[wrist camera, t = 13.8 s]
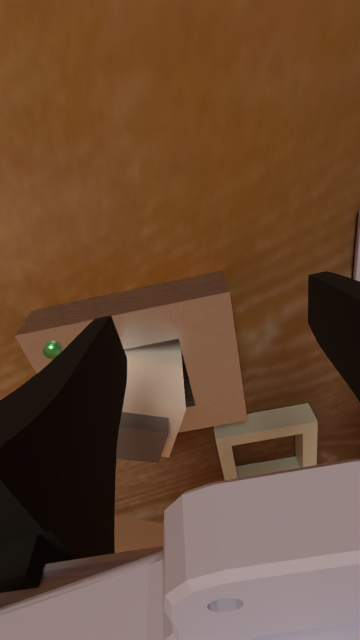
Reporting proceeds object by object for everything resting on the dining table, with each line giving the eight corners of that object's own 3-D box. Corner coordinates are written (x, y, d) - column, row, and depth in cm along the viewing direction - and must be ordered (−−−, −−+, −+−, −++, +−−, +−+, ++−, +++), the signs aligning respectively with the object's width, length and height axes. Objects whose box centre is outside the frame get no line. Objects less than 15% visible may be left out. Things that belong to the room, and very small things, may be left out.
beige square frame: (308, 403, 28) (317, 421, 26) (307, 461, 32) (315, 480, 31) (212, 420, 28) (215, 439, 27) (224, 475, 33) (227, 494, 31)
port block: (221, 271, 21) (230, 294, 18) (239, 391, 27) (248, 423, 24) (31, 310, 22) (12, 338, 19) (88, 419, 28) (80, 453, 25)
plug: (179, 337, 24) (187, 424, 17) (167, 379, 26) (169, 472, 19) (122, 327, 23) (106, 413, 16) (114, 371, 25) (96, 465, 18)
